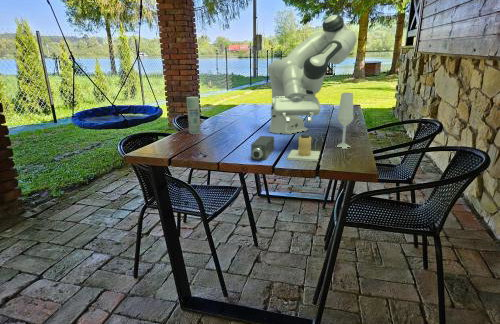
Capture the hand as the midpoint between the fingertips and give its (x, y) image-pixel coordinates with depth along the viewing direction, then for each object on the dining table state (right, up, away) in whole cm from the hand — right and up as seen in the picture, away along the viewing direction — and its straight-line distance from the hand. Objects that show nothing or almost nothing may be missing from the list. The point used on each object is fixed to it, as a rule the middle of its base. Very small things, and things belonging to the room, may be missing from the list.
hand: (298, 122), depth 130 cm
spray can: (-52, -1, +45) cm, 68 cm away
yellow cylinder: (+2, -14, -3) cm, 14 cm away
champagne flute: (+22, -10, +12) cm, 27 cm away
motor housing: (-15, -13, +2) cm, 20 cm away
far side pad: (+2, -15, -3) cm, 15 cm away
